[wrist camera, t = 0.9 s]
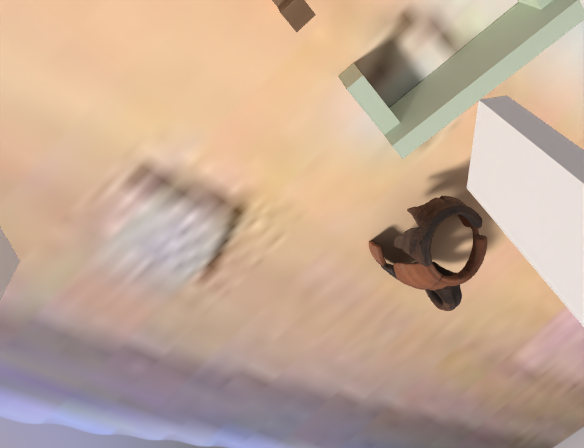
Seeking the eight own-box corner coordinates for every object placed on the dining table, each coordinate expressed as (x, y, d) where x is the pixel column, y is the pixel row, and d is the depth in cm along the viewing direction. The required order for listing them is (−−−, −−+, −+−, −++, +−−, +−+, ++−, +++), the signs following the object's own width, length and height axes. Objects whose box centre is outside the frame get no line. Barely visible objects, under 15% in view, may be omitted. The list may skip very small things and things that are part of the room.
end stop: (338, 76, 37) (352, 98, 33) (508, -74, 32) (549, -69, 28) (384, 132, 40) (402, 158, 36) (544, 3, 36) (586, 17, 32)
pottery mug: (346, 223, 46) (398, 236, 38) (416, 171, 48) (477, 174, 41) (396, 316, 50) (452, 344, 42) (458, 264, 52) (520, 282, 45)
